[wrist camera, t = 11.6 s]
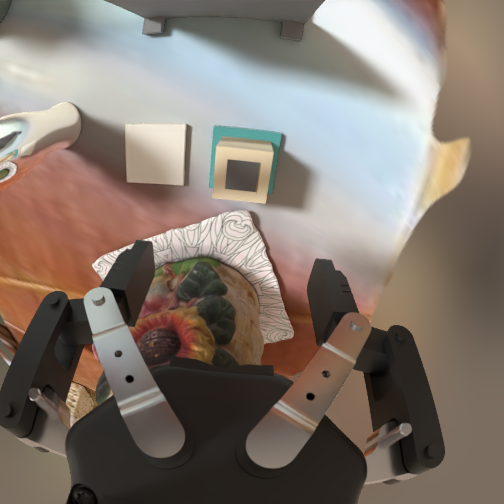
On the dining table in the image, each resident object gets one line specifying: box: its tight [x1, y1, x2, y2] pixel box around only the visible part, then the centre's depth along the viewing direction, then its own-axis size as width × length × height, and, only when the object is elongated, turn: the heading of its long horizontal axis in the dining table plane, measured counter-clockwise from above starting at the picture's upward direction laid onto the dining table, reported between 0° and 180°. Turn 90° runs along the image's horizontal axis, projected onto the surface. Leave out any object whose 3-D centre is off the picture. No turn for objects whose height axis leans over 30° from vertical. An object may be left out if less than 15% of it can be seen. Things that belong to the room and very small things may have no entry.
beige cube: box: [212, 136, 274, 204], centre depth 26 cm, size 5×5×5 cm
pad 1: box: [125, 123, 187, 185], centre depth 28 cm, size 7×7×1 cm
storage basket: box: [66, 382, 94, 426], centre depth 60 cm, size 24×16×15 cm
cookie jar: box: [92, 210, 294, 405], centre depth 27 cm, size 25×25×32 cm
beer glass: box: [0, 102, 81, 191], centre depth 19 cm, size 7×7×15 cm
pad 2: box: [209, 125, 282, 194], centre depth 29 cm, size 7×7×1 cm
